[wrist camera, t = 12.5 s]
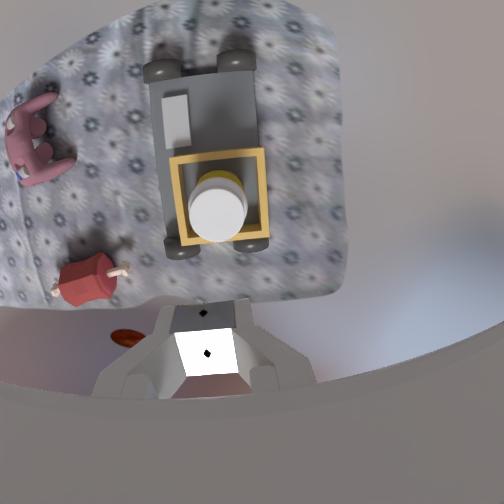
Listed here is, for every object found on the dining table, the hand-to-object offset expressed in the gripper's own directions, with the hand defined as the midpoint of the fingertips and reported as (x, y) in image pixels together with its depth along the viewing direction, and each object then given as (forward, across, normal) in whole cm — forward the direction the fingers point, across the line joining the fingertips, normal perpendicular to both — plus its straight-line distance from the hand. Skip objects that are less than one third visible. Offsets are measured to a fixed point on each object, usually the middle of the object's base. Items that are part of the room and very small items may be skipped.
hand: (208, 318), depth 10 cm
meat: (+22, +16, +7) cm, 28 cm away
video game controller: (+22, +19, -10) cm, 30 cm away
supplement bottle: (+20, 0, 0) cm, 20 cm away
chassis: (+21, +1, -4) cm, 22 cm away
